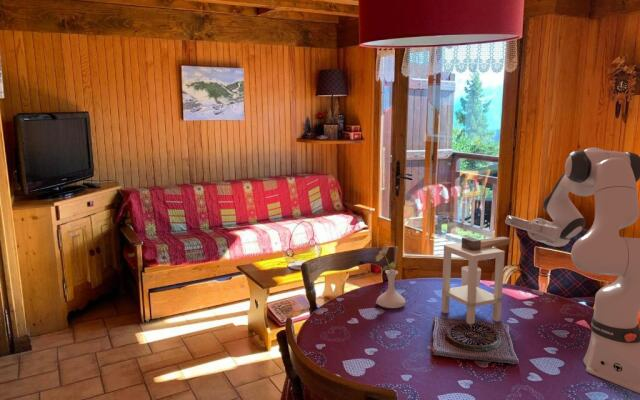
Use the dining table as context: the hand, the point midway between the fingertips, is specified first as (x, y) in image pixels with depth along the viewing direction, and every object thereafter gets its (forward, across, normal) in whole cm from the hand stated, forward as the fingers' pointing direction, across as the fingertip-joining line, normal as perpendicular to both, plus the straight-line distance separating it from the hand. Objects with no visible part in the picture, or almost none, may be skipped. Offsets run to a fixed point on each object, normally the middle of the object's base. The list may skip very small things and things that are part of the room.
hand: (519, 222), depth 186 cm
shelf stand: (+8, 0, +39) cm, 40 cm away
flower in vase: (+26, -24, +47) cm, 59 cm away
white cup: (-12, -19, +34) cm, 41 cm away
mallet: (+11, -2, +12) cm, 16 cm away
